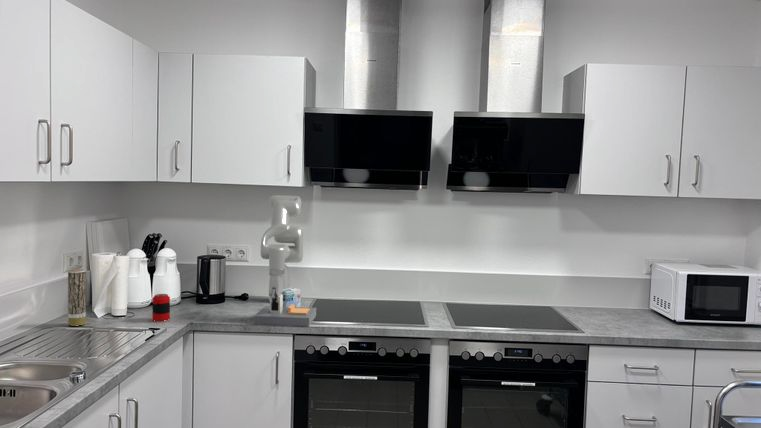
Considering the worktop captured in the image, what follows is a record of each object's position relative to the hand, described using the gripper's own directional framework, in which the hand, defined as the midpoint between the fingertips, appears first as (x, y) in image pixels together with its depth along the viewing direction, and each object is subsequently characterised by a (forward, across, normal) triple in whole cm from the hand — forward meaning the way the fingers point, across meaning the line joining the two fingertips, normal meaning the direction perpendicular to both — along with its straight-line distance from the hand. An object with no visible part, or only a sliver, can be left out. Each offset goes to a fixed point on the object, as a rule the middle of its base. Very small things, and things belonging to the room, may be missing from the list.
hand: (276, 308), depth 252 cm
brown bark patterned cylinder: (+5, +23, -85) cm, 88 cm away
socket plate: (+5, 0, +5) cm, 7 cm away
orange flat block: (+1, 0, +11) cm, 11 cm away
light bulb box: (+6, -20, +2) cm, 21 cm away
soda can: (+6, +9, -53) cm, 54 cm away
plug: (+2, 0, 0) cm, 2 cm away
